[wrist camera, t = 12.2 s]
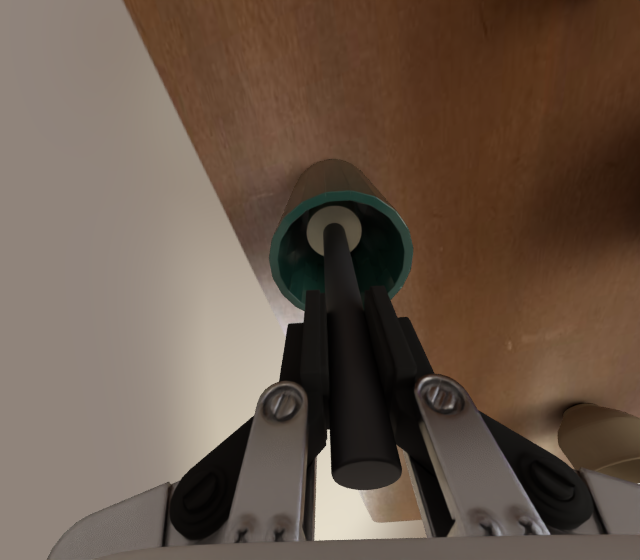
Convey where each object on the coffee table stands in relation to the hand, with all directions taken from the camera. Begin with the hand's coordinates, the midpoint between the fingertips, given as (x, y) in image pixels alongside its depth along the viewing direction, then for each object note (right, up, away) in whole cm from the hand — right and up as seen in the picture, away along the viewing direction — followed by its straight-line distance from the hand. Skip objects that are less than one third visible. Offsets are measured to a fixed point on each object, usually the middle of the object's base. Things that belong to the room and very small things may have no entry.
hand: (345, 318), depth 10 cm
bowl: (+45, -22, +35) cm, 61 cm away
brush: (0, +8, +12) cm, 15 cm away
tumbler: (0, +10, +16) cm, 19 cm away
